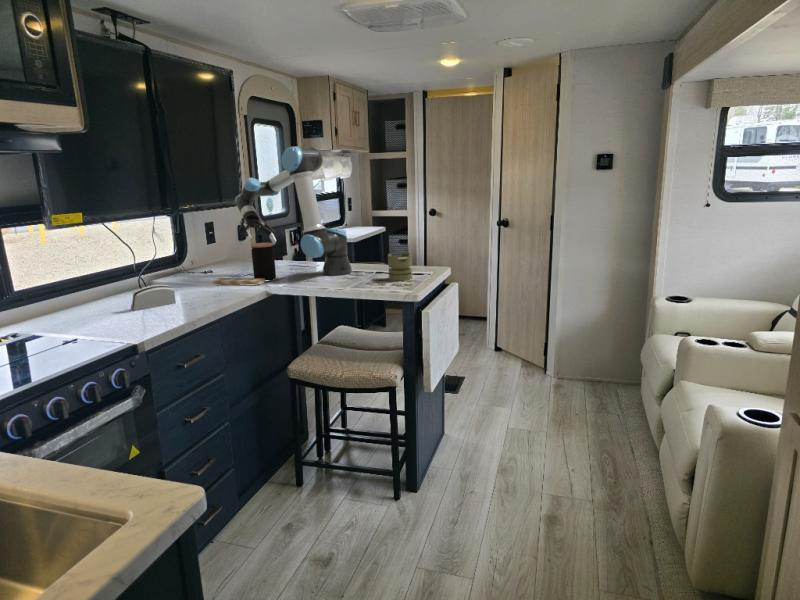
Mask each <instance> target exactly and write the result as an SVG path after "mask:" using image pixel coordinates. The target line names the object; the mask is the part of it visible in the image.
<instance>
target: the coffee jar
mask: <svg viewBox="0 0 800 600" xmlns="http://www.w3.org/2000/svg"><path fill="white" fill-rule="evenodd" d="M273 246H274V245H273V243H272V242H259V243H257V242H256V243H252V244H250V247H251V250H250V251H251V261H252V269H253V270H252V271H253V278H265V280H273V279H275V280H276V279H277V273H276V260H275V251H274V247H273ZM273 281H274V280H273Z"/></svg>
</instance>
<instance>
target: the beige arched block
mask: <svg viewBox="0 0 800 600" xmlns="http://www.w3.org/2000/svg"><path fill="white" fill-rule="evenodd" d="M175 295H176V294H175V289H174V288H173V287H172V286H170V285H166V284H156V285H149V286H145V287H141V288H139V289H137V290H135V291H134V292H133V293H132V300H131V301H132V302H131V305H130V309H131V310H133V311H134V312H138V311H139V312H140V311H142V310H147V309H155V308H158V307H164V306H169V305H173V304H174V305H175V304H177V301H176V296H175Z"/></svg>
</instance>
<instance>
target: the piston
mask: <svg viewBox="0 0 800 600" xmlns="http://www.w3.org/2000/svg"><path fill="white" fill-rule="evenodd" d="M412 256H413V255H412V253H410V252H402V253H401V255H400V256H399V257H398V255H393V254H392V253H388V254H387V261H388V262H387V263H388V264H387V265H388V280H389V281H392V282H406V281H405V280H408V281H411V280H413V261H412V259H413V257H412ZM410 279H411V280H410Z"/></svg>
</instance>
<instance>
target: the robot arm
mask: <svg viewBox="0 0 800 600" xmlns="http://www.w3.org/2000/svg"><path fill="white" fill-rule="evenodd" d="M323 160H324V159H323V155H322V153H321V152H320V150H318V149H317V148H316V147H313V146H298V145H297V146H289V147H287V148H286V149H285V150H284V152H283V154H282V156H281V165H282V168H283V169H284V170H283V171H281V172H279V173H278V174H276V175H274V176H273V177H272V178H270V179H268V180H267V181H260V180H258V179H257V178H255V177H248V178H247V179H246V180H245V183H244V185H243V188H242V190H241V193H240V194H239V193H238V195H237V196H235V199H234V201H235V206H236V207H237V209H238V210H239V213H240V215H241V219H240V221H239V223H240V226H239V227H238V232H239V233H241V234H242V235H244V237H246V239H247V242H248V243H251V241H252V239H253V238H252V235H251V232H250V231H249V229H250V228H252V229H257V230H259V231H262V232H263V233H265V234H266V235H268V236H269V239H270V241H271V243H273V246H274V245H276V243H277V238H276V236H277V235H276V234H277V231H276V230H275V229H274V228H273V227H271V226H270V225H269V224H268V223H267V222H266V221H265V220H264V221H260V218H259V215H258V212H257V211H256V209H255V207H254V206H253V204H254V202H255V199H256V198H257V197H271V196H272V197H273V196H277V195H279V194H280V192H281V190H283V189H284V188H286V187H288V186H289V185H292V184H293V183H294V186H295V190H296V194H297V200H298V203H299V208H300V212H301V218H302V221H303V225H304V229H303V231H302V235H303V236H302V237H301V239H300V248H301V251H302V252H303V254H305V255H306V256H307V257H309V258H312V259H313V258H321V257H324V258H325V259H324V263H323V267H322V274H323V275H326V276H343V275H349V274H351V273H353V270H352V269H353V268H352V266H351V262H350V260H349V258H348V240H347V239H348V236H347V231H346V230H345V229H343V228H341V229H340V228H327V227H325V226H324V225H323V223H322V218H321V213H320V210H319V205H318V200H317V196H316V191H315V187H314V186H315V185H314V182H313V178H312V177H313V174H314V173H315V172H317V171H319V170H320V169H321V167H322V165H323V162H324V161H323ZM244 224H245V226H244Z"/></svg>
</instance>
